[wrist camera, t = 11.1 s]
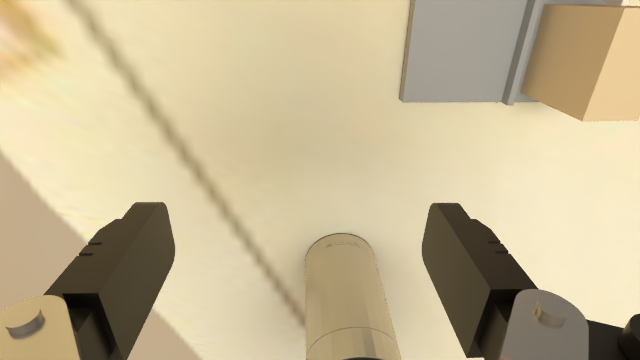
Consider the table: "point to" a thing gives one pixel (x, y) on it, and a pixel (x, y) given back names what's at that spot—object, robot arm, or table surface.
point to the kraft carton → (587, 61)
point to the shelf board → (472, 49)
